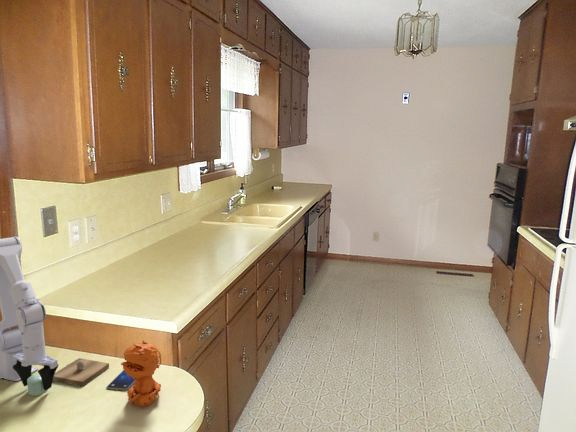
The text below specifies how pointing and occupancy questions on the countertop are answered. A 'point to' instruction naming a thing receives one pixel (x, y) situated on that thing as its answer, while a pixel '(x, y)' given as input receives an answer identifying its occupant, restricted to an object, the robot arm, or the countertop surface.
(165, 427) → the countertop surface
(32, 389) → the cap
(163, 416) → the countertop surface
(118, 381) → the smartphone
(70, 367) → the stub block
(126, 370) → the toy dinosaur
